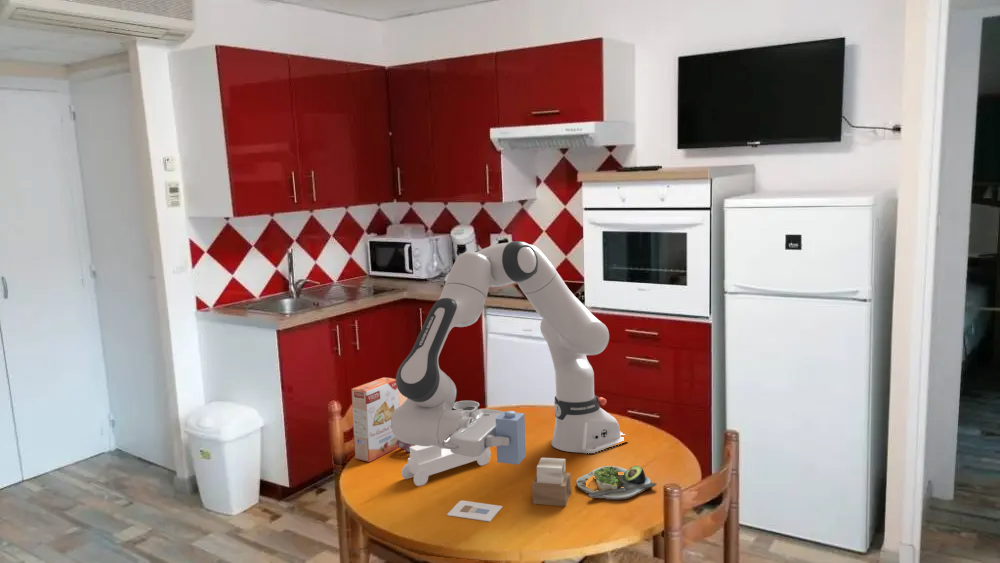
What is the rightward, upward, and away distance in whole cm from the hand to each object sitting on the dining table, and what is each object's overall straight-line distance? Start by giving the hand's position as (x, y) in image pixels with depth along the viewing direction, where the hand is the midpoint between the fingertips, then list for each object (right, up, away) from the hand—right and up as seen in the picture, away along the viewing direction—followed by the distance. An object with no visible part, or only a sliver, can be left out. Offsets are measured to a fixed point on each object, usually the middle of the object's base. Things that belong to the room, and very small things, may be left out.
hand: (514, 435), depth 166 cm
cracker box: (-38, -16, +51) cm, 66 cm away
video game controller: (-28, -15, +51) cm, 60 cm away
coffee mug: (-14, -13, +61) cm, 64 cm away
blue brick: (-1, -5, +1) cm, 6 cm away
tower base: (+10, -19, +18) cm, 27 cm away
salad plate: (+26, -18, +24) cm, 39 cm away
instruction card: (-9, -20, +12) cm, 25 cm away
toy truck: (-17, -17, +37) cm, 44 cm away
